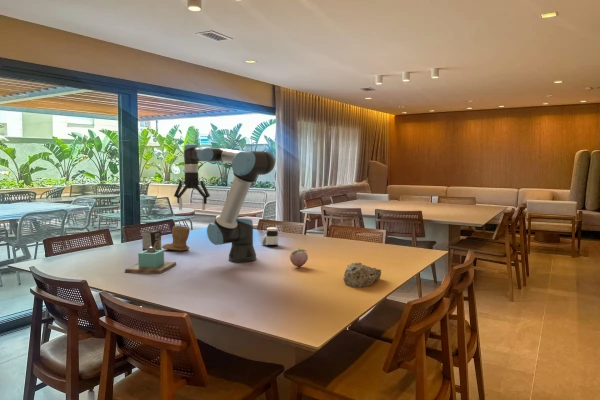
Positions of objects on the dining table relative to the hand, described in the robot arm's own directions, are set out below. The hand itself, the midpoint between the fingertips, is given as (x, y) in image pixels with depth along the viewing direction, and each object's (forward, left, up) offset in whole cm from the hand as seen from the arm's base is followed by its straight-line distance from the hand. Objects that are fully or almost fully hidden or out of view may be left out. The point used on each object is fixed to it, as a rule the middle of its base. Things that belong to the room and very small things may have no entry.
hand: (192, 209), depth 239 cm
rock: (-95, +40, -27) cm, 107 cm away
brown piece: (+16, -16, -27) cm, 35 cm away
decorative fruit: (-63, +18, -27) cm, 71 cm away
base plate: (+10, +30, -27) cm, 41 cm away
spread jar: (-37, -37, -27) cm, 59 cm away
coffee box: (+18, +13, -27) cm, 35 cm away
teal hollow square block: (+10, +30, -25) cm, 40 cm away
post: (+10, +30, -27) cm, 41 cm away
